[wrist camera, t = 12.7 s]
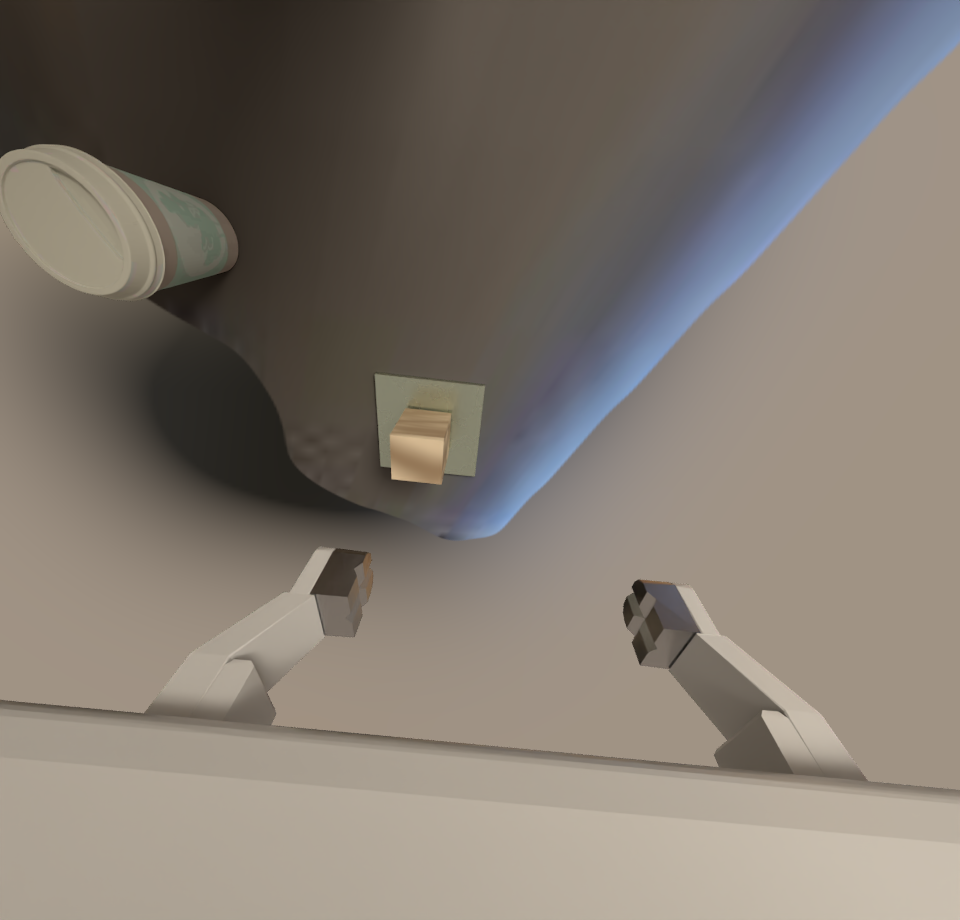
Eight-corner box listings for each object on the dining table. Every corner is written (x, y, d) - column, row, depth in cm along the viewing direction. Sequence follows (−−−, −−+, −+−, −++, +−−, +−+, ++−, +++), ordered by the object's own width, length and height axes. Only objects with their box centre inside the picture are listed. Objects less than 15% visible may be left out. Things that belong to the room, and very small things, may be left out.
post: (376, 372, 37) (353, 395, 31) (484, 384, 37) (482, 409, 31) (381, 463, 43) (363, 497, 37) (474, 473, 44) (471, 509, 38)
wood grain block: (405, 408, 38) (389, 435, 32) (451, 413, 38) (443, 441, 33) (406, 447, 41) (391, 479, 35) (448, 452, 41) (441, 484, 35)
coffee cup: (260, 297, 34) (157, 317, 23) (170, 277, 33) (24, 288, 23) (246, 190, 29) (112, 157, 19) (142, 165, 29) (-54, 116, 18)
